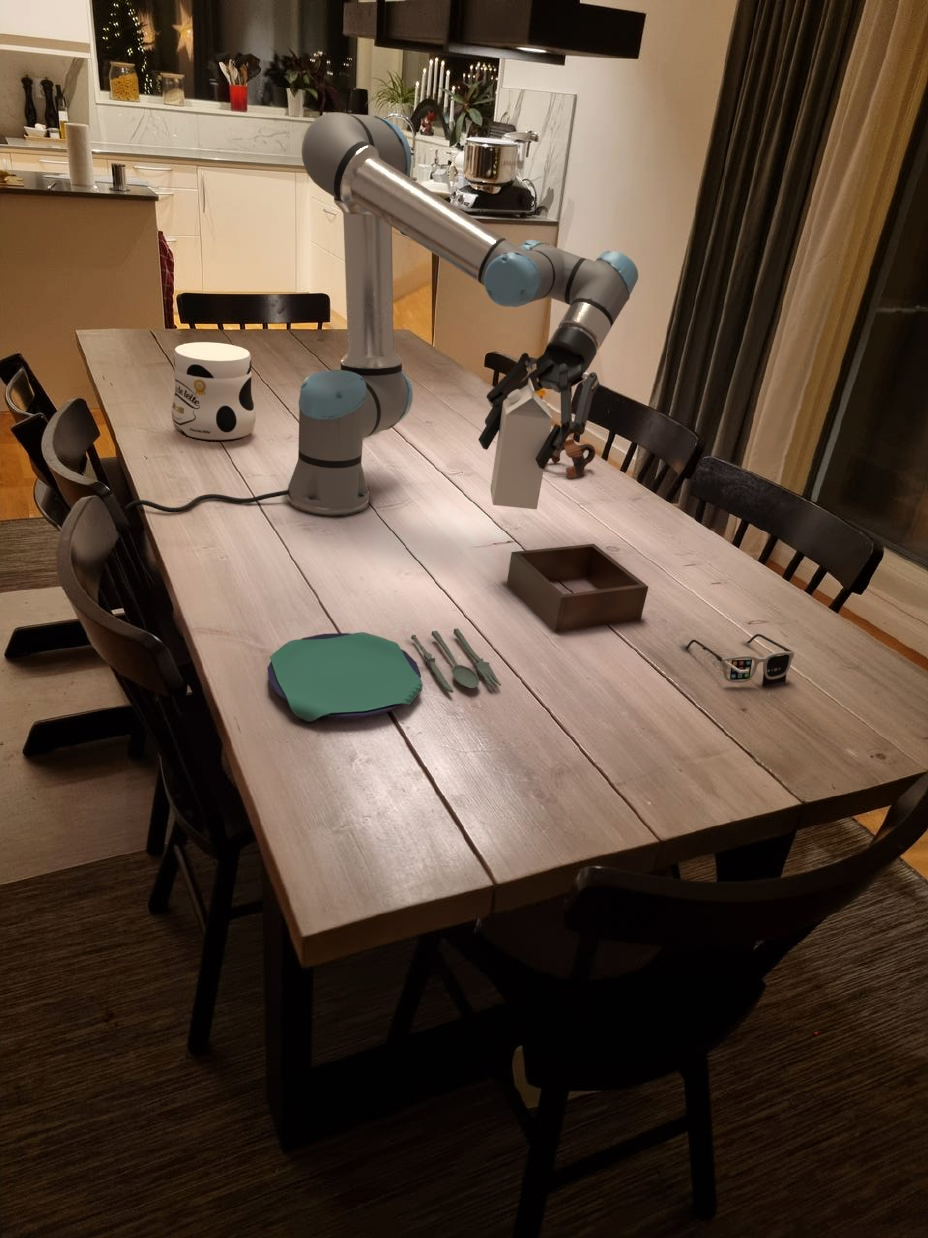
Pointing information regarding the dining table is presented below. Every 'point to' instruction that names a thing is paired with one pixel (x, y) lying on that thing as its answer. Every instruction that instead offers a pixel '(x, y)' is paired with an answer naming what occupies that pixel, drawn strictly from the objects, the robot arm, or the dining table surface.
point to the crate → (576, 610)
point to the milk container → (213, 392)
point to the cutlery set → (358, 674)
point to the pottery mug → (575, 457)
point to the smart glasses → (741, 669)
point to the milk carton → (520, 449)
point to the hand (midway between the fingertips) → (510, 454)
